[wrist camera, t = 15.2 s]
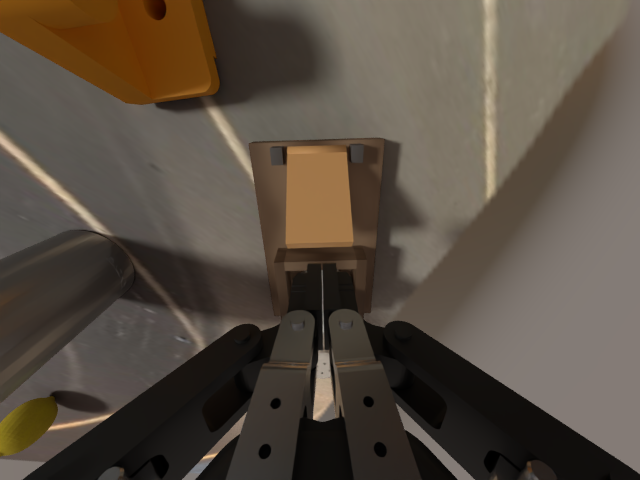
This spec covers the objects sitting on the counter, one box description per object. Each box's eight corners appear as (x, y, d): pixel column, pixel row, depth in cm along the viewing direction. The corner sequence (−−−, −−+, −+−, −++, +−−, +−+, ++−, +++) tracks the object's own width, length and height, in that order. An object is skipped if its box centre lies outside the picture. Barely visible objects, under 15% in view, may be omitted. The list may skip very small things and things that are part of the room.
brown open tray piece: (276, 304, 32) (270, 334, 27) (253, 141, 23) (238, 146, 19) (367, 301, 32) (375, 331, 27) (379, 137, 23) (394, 141, 19)
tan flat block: (287, 248, 19) (285, 243, 18) (289, 153, 22) (287, 142, 21) (351, 246, 19) (353, 241, 18) (344, 152, 22) (345, 141, 21)
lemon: (69, 410, 42) (17, 470, 34) (32, 400, 40) (-29, 460, 33) (73, 392, 40) (19, 453, 32) (35, 382, 38) (-30, 442, 31)
